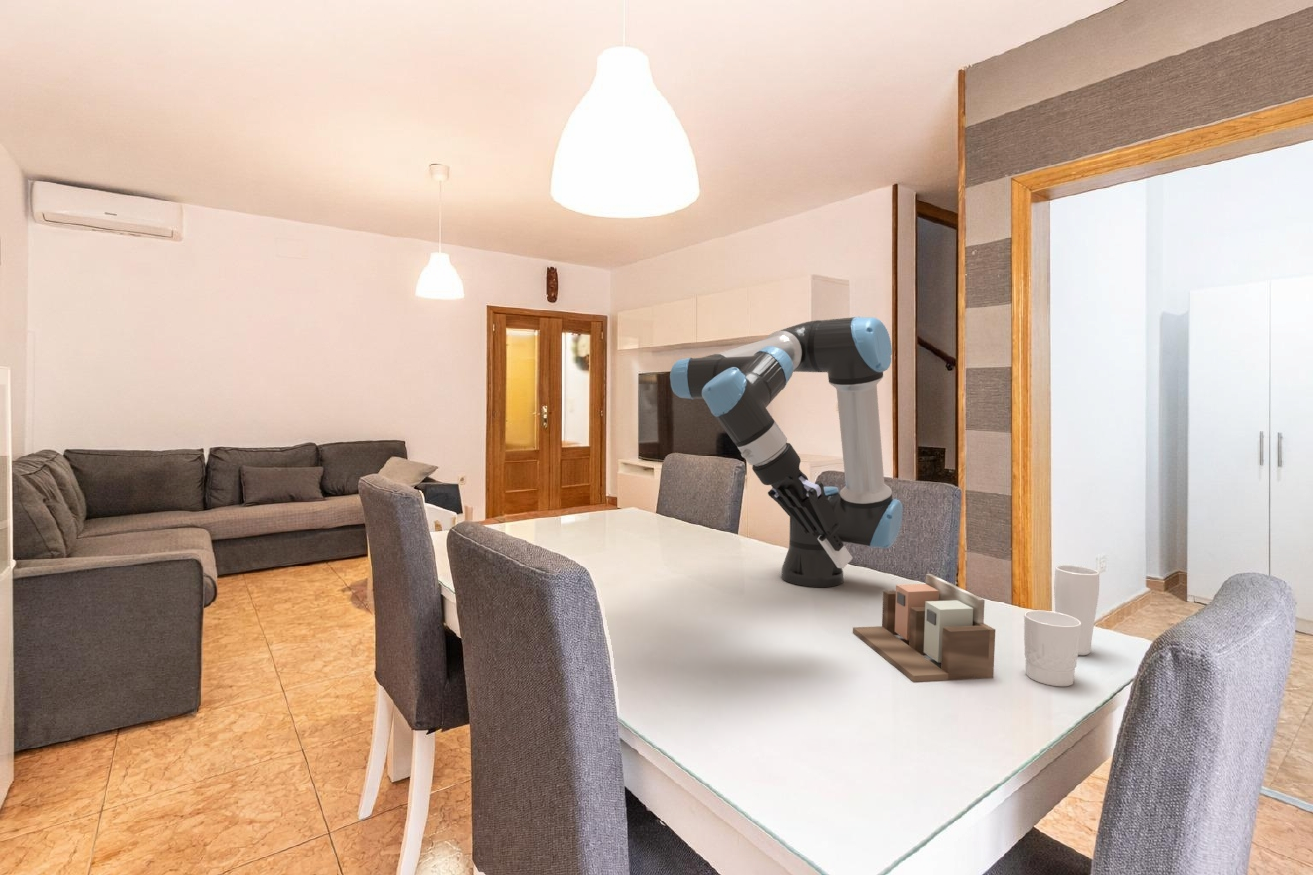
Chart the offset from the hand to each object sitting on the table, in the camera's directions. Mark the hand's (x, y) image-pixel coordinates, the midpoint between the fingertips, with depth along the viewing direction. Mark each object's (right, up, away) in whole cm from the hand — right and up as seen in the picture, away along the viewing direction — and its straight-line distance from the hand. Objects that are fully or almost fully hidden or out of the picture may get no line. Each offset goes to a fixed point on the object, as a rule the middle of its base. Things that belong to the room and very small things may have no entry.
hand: (845, 562), depth 111 cm
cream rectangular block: (+17, -16, 0) cm, 24 cm away
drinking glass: (+43, -17, +7) cm, 47 cm away
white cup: (+32, -18, -5) cm, 37 cm away
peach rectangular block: (+16, -15, +10) cm, 24 cm away
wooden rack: (+13, -17, +5) cm, 22 cm away
